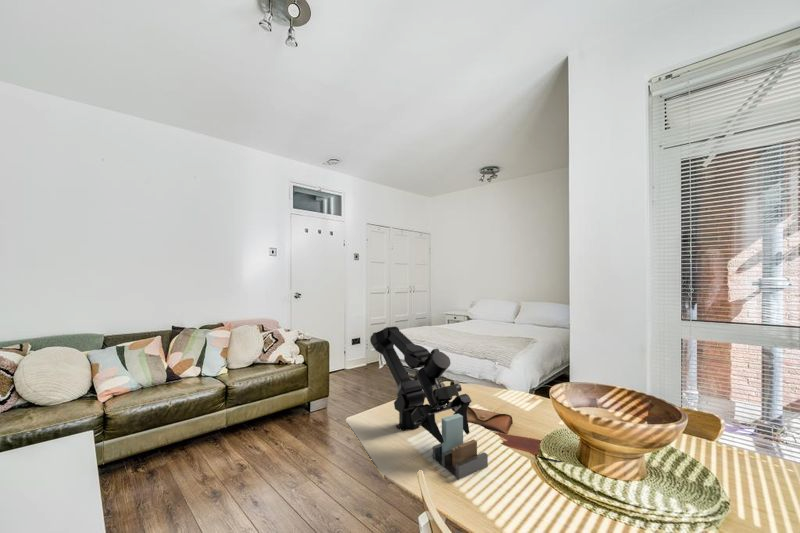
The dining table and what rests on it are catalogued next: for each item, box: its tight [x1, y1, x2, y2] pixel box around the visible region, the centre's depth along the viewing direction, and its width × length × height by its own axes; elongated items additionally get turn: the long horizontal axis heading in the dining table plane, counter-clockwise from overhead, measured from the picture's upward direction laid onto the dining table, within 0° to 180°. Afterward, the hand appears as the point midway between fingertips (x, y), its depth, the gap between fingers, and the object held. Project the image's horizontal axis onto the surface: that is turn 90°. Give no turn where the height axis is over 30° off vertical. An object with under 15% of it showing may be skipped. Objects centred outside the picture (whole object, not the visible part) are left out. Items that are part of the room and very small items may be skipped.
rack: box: [432, 443, 489, 480], centre depth 87 cm, size 11×10×4 cm
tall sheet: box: [441, 414, 464, 453], centre depth 89 cm, size 2×6×11 cm, turn 121°
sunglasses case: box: [467, 406, 513, 434], centre depth 111 cm, size 18×7×7 cm
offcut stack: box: [452, 439, 478, 469], centre depth 85 cm, size 4×6×6 cm, turn 121°
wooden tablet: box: [492, 431, 543, 457], centre depth 97 cm, size 27×10×2 cm, turn 65°
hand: (455, 438), depth 88 cm, fingers open, 9 cm apart
